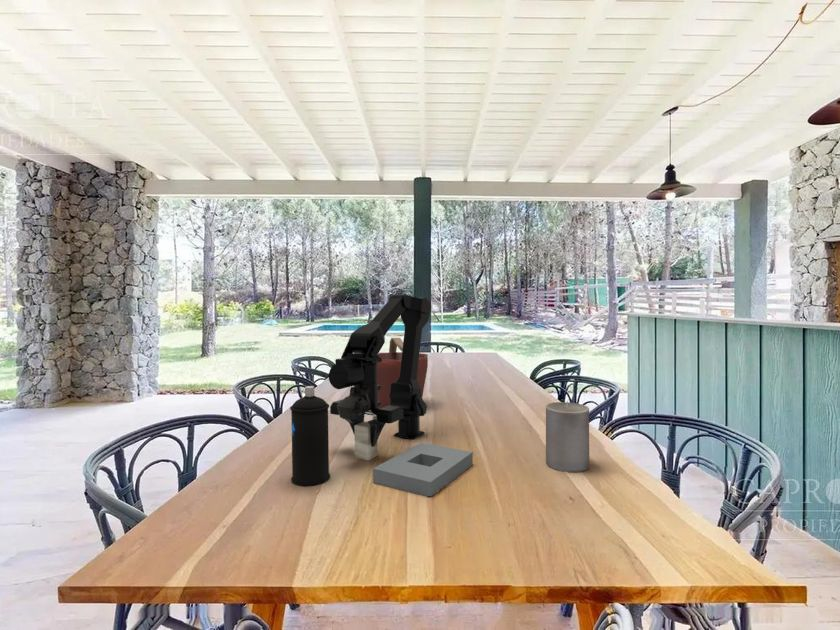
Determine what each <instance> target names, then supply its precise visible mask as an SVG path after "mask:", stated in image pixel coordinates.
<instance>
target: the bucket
mask: <svg viewBox="0 0 840 630" xmlns="http://www.w3.org/2000/svg"><path fill="white" fill-rule="evenodd" d="M397 349H399V350H400V351H401V352H399V351H398V352H397ZM402 349H403V340H402V338H401V337H391V338H390V339H389V348H388V352H379V353H378V354H377V355H378V356H379V357H380V358H381V359H382V362H378V363H377V385H381V389H380V390H377V400H378V401H380V402H381V406H378V407H377V408H383V407H386V406H389V405H391V404H390V397H389V395H390V391H391V384H392V383H395V382H396V381H397V379H398V378H399V374H400V366H401V357H402ZM428 362H429V361H428V353H420V352H419V361H418V370H417V382H418V384H419V386H420V388H421V398H422V399H423V395H424V389H425V383H426V377H427V373H428V372H427V371H428V367H429V366H428V364H429V363H428Z"/></svg>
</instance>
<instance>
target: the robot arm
mask: <svg viewBox="0 0 840 630" xmlns="http://www.w3.org/2000/svg"><path fill="white" fill-rule="evenodd" d="M431 311H432V303H431V302H430V301H429V299H428V298H426V297H415V296H412V295H409V294H407V293H402V294H401V293H399V294H396V293H394V294H392V295H390V297H389V299H388V301H386V303H385V305H383V307H382V308H381V309H380V310H379V311H378V313H376V315H375V316H374V317H373V318H372V319H371V320H370V321H369V322H368V323H366V324H363V325H362V326H359V327H357V329H355V330H353V332H352V333H351V334H350V336H349V338H348V340H347V343H346V345H345V348H344V350H343V352H342V354H341V357H340V358H335V360H334V362H335V364H333V365H332V366H331V367H330V369H329V372H328V375H327V376H328V381H329V384H330V385H331V387H332V388H334V389H336V390H342V389H348V388H350V389H349V394H348V395H346V396H345V397H344V398H342V399H338V400H336V401H332V403H331V405H329V413H330V415H335V416H339V418H340V419H343V420H345V421H346V422H348V424H349V426H350V427H351V430H352V433H353V435H354V437H355V426H354V425H356V424H359V423H362V422H364V421H365V415H369V416H372V419H370V420H367V422H368V424H369V425H370V427H371V446H372V447H374V446H375V445H376V443H377V440H378V441H379V438H380V435H381V433H382V431H383V429H384V427H385V426H386V424H393V423H395V422H397V423H398V424H397V425H398V427H397V428H398V430H397V431H398V432H395V433H394V435H393V436H395V437H398V438H399V437H400V438H403V439H404V438H405V439H410V440H415V439H417V438H418V437H421V436H422V435H424V434H425V431H422V430H421V428H420V427H421V425H420V424H421V422H420V420H421V419H420V417H424V416H425V415H426V414H427V409H428V405H427V404H426V402H425V401H424V400H423V397H422V398H421V388H420V386H419V384H418V382H417V370H418V361H419V353H420V351H421V342H422V331H423V328H424V327H425V326H426V325H427V323H428V322H429V319H430V314H431ZM399 318H400V320H401V321H402V323H403V325H404V333H403V340H402V342H403V349H402V351H401V352H402V357H401V366H400V374H399V378H398V379H397V381H396V382H395V383H392V384H391V391H390V395H389V397H390V404H391V405H389V406H386V407H383V408H377V407H378V406H381V402H380V401H378V400H377V390H380V389H381V385H377V363H378V362H382V359H381V358H380V357H379V356H378V355H377V354H378V353H380V351H381V349H383V346H384V344H385V343H386V338H385V337H386V334H387V333H388V331H390V329H391V328H392V326H393V325H395V323H396V322H397V320H398V319H399Z"/></svg>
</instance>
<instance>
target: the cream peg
mask: <svg viewBox="0 0 840 630" xmlns="http://www.w3.org/2000/svg"><path fill="white" fill-rule="evenodd" d="M354 426H355V436H354V458H356V459H361V460H365V461H370V460H372V459H373V458H375V457H377V456H378V453H379V452H378V451H379V448H378V441H379V439H378V440H377V443H376V445H375V446H374V447H372V446H371V427H370V425H369V424H368V421H365V420H364V422H362V423H359V424H356V425H354Z"/></svg>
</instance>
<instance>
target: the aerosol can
mask: <svg viewBox="0 0 840 630" xmlns="http://www.w3.org/2000/svg"><path fill="white" fill-rule="evenodd" d="M329 409H330V404H329V403H327V402H326V401H325V399H323V398H322V397H319V396H317V395H315V386H314V385H307V386H305V387H304V396H303V397H300V398H298V399H297V400H295V401H294V402H293V404H292V405H290V407H289V410H290V411H291V412H290V413H291V464H292V465H291V470H292V473H291V478H290V480H291V482H292V483H293V484H294V485H296V486H300V485H301V487H311V486H317V485H321V484H323V483H326V482H327V481H328V480H330V478H331V473H330V462H329V461H330V459H329V457H330V456H329V455H330V453H329V452H330V451H329V450H330V449H329Z"/></svg>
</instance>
